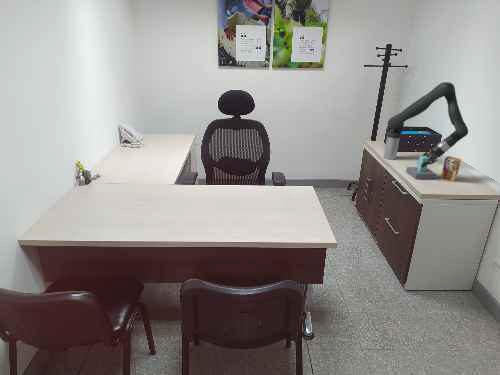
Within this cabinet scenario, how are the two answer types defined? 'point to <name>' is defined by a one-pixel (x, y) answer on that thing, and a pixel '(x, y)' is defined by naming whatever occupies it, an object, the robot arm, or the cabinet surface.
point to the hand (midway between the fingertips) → (419, 165)
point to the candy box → (451, 168)
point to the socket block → (420, 173)
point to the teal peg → (421, 161)
